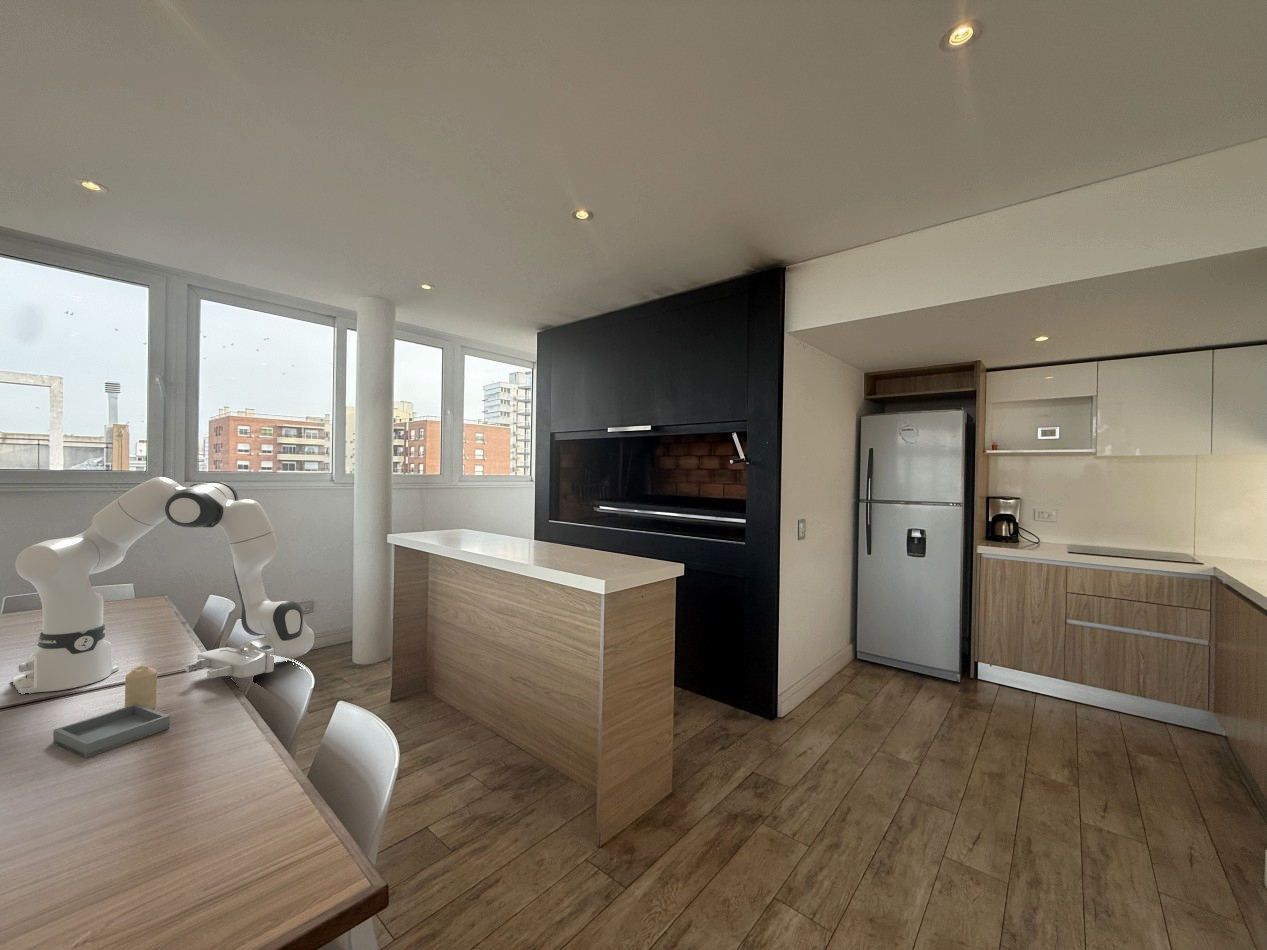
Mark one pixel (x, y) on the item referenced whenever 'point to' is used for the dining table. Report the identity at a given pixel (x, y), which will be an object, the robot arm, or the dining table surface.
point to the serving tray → (110, 730)
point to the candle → (141, 687)
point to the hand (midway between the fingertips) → (197, 671)
